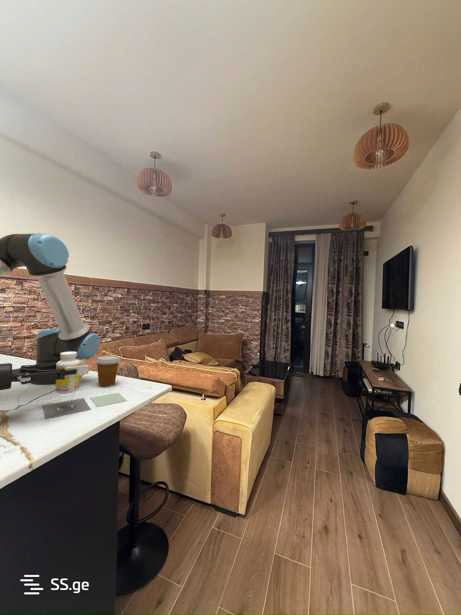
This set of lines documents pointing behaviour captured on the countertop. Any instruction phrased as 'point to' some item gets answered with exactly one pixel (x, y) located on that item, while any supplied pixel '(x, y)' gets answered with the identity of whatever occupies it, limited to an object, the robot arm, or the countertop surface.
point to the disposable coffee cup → (107, 370)
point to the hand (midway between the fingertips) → (85, 366)
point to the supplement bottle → (69, 382)
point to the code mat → (65, 408)
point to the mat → (108, 399)
